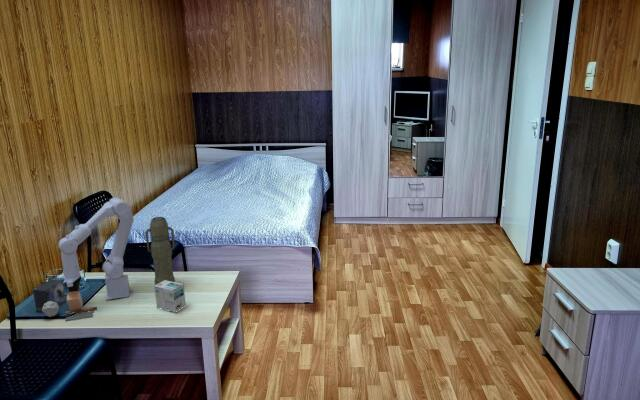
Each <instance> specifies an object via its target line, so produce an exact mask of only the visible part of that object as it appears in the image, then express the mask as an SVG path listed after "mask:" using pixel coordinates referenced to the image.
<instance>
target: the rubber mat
mask: <svg viewBox="0 0 640 400" xmlns="http://www.w3.org/2000/svg"><path fill="white" fill-rule="evenodd" d="M93 313H95V311H90V312H84V313H77V314H74V315H72V314H71V315H72V316H69V317H67V316H66V317H65V322H70V321H75V320H83V319H84V320H85V319H89V318H94V314H93Z"/></svg>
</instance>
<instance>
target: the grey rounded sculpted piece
mask: <svg viewBox="0 0 640 400" xmlns="http://www.w3.org/2000/svg"><path fill="white" fill-rule="evenodd" d="M59 310H60V306H59V305H58V304H57V303H56V302H52V301H48V302H47V303H45V304H44V306H43V308H42V311H43V312H42V313H43V315H45V316H47V317H49V318H52V316H53V317H55V316H57V314H59Z"/></svg>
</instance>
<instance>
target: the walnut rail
mask: <svg viewBox="0 0 640 400" xmlns="http://www.w3.org/2000/svg"><path fill="white" fill-rule="evenodd" d="M95 310H97V311H98V306H93V307H92V306H91V307H86V308H82V309H78V310H72V311H70V310H66V311H65V312H64V315H65V314H68V313H72V312H76V313H77V314H78V313H82V312H84V313H85V312H88V311H90V312H91V311H94V312H95Z"/></svg>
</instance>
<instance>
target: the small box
mask: <svg viewBox="0 0 640 400" xmlns="http://www.w3.org/2000/svg"><path fill="white" fill-rule="evenodd" d="M64 286H65V285H64V281H63V279H61V280H60V279H49V280H48V281H45V282H43V283H41V284H39V285H38V286H36V287H35V288H32V292H33V298H34V303H35V304H34V305H35V311H36V312H38V311H39V313H44V312H43V311H42V308H43V306H44V304H45V303H47V302H48V301H52V302H56V303H57V304H58V305H60V306H62V303H63V304H64V303H66V302H67V298H66V293H65V287H64Z"/></svg>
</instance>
